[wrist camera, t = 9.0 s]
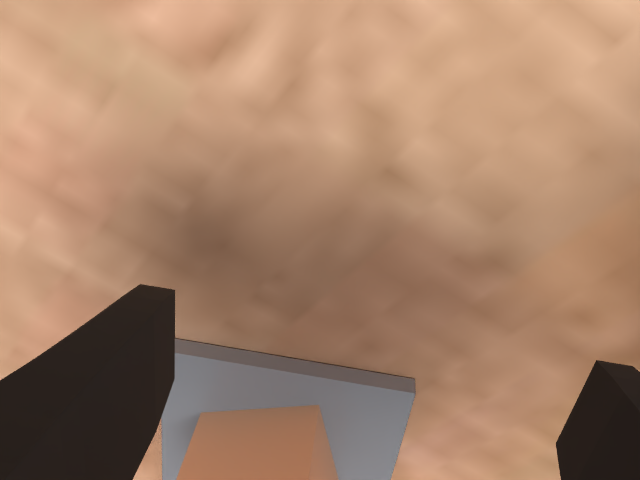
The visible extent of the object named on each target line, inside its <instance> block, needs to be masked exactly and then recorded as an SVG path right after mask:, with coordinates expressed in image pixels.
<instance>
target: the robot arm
mask: <svg viewBox="0 0 640 480" xmlns="http://www.w3.org/2000/svg"><path fill="white" fill-rule="evenodd" d="M174 379H175V290H172V289H166V288H160V287H154V286H148V285H142V284H140V285H138V286H137V287H135V288H134V289H133V290H131V291H130V292H128V293H127V294H125V295H124V296H122V297H121V298H120V299H118V300H117V301H116V302H114V303H113V304H111V305H110V306H109V307H107V308H106V309H105V310H103V311H102V312H100V313H99V314H98V315H96V316H95V317H94V318H92V319H91V320H89V321H88V322H87V323H85V324H84V325H82V326H81V327H80V328H78V329H77V330H76V331H74V332H73V333H71V334H70V335H68V336H67V337H65V338H64V339H63V340H61V341H60V342H58V343H57V344H55V345H54V346H52V347H51V348H49V349H48V350H47V351H45V352H44V353H42V354H41V355H39V356H38V357H36V358H35V359H33V360H32V361H30V362H29V363H27V364H26V365H24V366H22V367H21V368H19V369H18V370H16V371H14V372H13V373H11V374H10V375H8V376H7V377H5V378H3V379H2V380H0V480H132V479H133V477H134V475H135V473H136V471H137V469H138V467H139V465H140V463H141V461H142V459H143V457H144V455H145V453H146V451H147V449H148V447H149V445H150V443H151V441H152V439H153V437H154V435H155V433H156V430H157V427H158V425H159V422H160V419H161V416H162V414H163V411H164V408H165V405H166V403H167V400H168V397H169V394H170V391H171V388H172V385H173V382H174ZM556 448H557V455H558V462H559V469H560V476H561V480H640V372H639V371H638V370H637V369H635V368H634V367H633V366H627V365H621V364H616V363H610V362H604V361H598V360H596V362H595V364H594V366H593V368H592V370H591V373H590V375H589V377H588V379H587V381H586V383H585V385H584V387H583V389H582V391H581V393H580V395H579V397H578V399H577V401H576V403H575V405H574V407H573V409H572V411H571V414H570V416H569V418H568V420H567V422H566V424H565V426H564V428H563V430H562V432H561V434H560V436H559V438H558V440H557V442H556Z"/></svg>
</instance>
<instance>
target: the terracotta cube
mask: <svg viewBox="0 0 640 480" xmlns="http://www.w3.org/2000/svg"><path fill="white" fill-rule="evenodd" d="M176 480H339V479H338V475H337V472H336V468H335V464H334V460H333V456H332V453H331V449H330V445H329V441H328V437H327V434H326V430H325V426H324V422H323V418H322V414H321V411H320V407H319V405H309V406H294V407H278V408H263V409H248V410H233V411H218V412H203V413H201V414H200V417H199V419H198V422H197V425H196V427H195V430H194V433H193V436H192V438H191V441H190V444H189V446H188V449H187V452H186V454H185V457H184V460H183V462H182V465H181V468H180V471H179V473H178V476H177V479H176Z"/></svg>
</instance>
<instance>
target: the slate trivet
mask: <svg viewBox="0 0 640 480" xmlns="http://www.w3.org/2000/svg"><path fill="white" fill-rule="evenodd" d="M415 394H416V391H415V379H412V378H406V377H400V376H394V375H388V374H382V373H376V372H370V371H364V370H358V369H352V368H347V367H341V366H335V365H329V364H323V363H317V362H311V361H305V360H299V359H293V358H287V357H281V356H275V355H270V354H264V353H258V352H252V351H246V350H240V349H234V348H228V347H222V346H216V345H210V344H204V343H199V342H193V341H187V340H181V339H175V379H174V382H173V385H172V388H171V391H170V394H169V397H168V400H167V403H166V405H165V408H164V411H163V414H162V416H161V417H162V480H176V479H177V476H178V473H179V471H180V468H181V465H182V462H183V460H184V457H185V454H186V452H187V449H188V446H189V444H190V441H191V438H192V436H193V433H194V430H195V427H196V425H197V422H198V419H199V417H200V414H201V413H203V412H218V411H233V410H248V409H263V408H278V407H294V406H309V405H319V407H320V411H321V414H322V418H323V422H324V426H325V430H326V434H327V437H328V441H329V445H330V449H331V453H332V456H333V460H334V464H335V468H336V472H337V475H338V479H339V480H391V477H392V473H393V470H394V466H395V463H396V460H397V456H398V453H399V449H400V446H401V442H402V439H403V435H404V432H405V429H406V425H407V422H408V418H409V415H410V411H411V408H412V404H413V401H414V398H415Z"/></svg>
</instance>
